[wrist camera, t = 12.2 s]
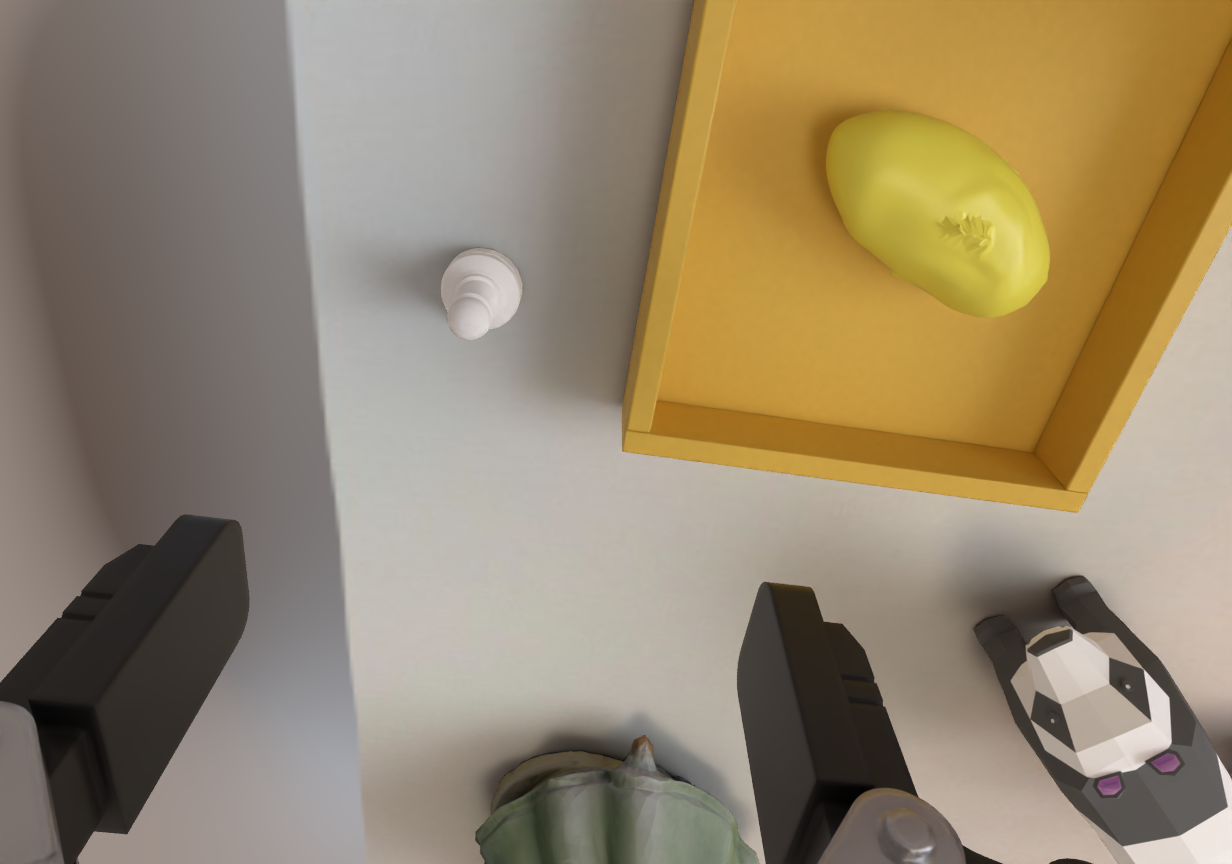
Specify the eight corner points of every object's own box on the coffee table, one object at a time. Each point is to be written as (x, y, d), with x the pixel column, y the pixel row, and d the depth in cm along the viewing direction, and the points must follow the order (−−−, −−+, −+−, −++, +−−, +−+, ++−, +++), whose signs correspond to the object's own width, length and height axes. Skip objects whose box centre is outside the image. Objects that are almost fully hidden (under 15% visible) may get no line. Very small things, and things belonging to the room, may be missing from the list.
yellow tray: (731, -208, 20) (748, -237, 17) (1309, -95, 21) (1410, -107, 18) (621, 407, 29) (621, 452, 26) (1037, 464, 30) (1078, 513, 27)
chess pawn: (522, 324, 27) (510, 368, 24) (446, 319, 27) (424, 362, 24) (522, 249, 26) (509, 285, 23) (443, 244, 26) (419, 280, 23)
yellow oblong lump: (947, 327, 26) (995, 378, 23) (777, 164, 24) (803, 195, 20) (1056, 230, 25) (1125, 270, 21) (886, 45, 22) (933, 57, 19)
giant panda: (1171, 700, 36) (1338, 920, 27) (1052, 751, 37) (1175, 972, 29) (1038, 481, 30) (1198, 673, 22) (905, 552, 32) (1006, 756, 23)
